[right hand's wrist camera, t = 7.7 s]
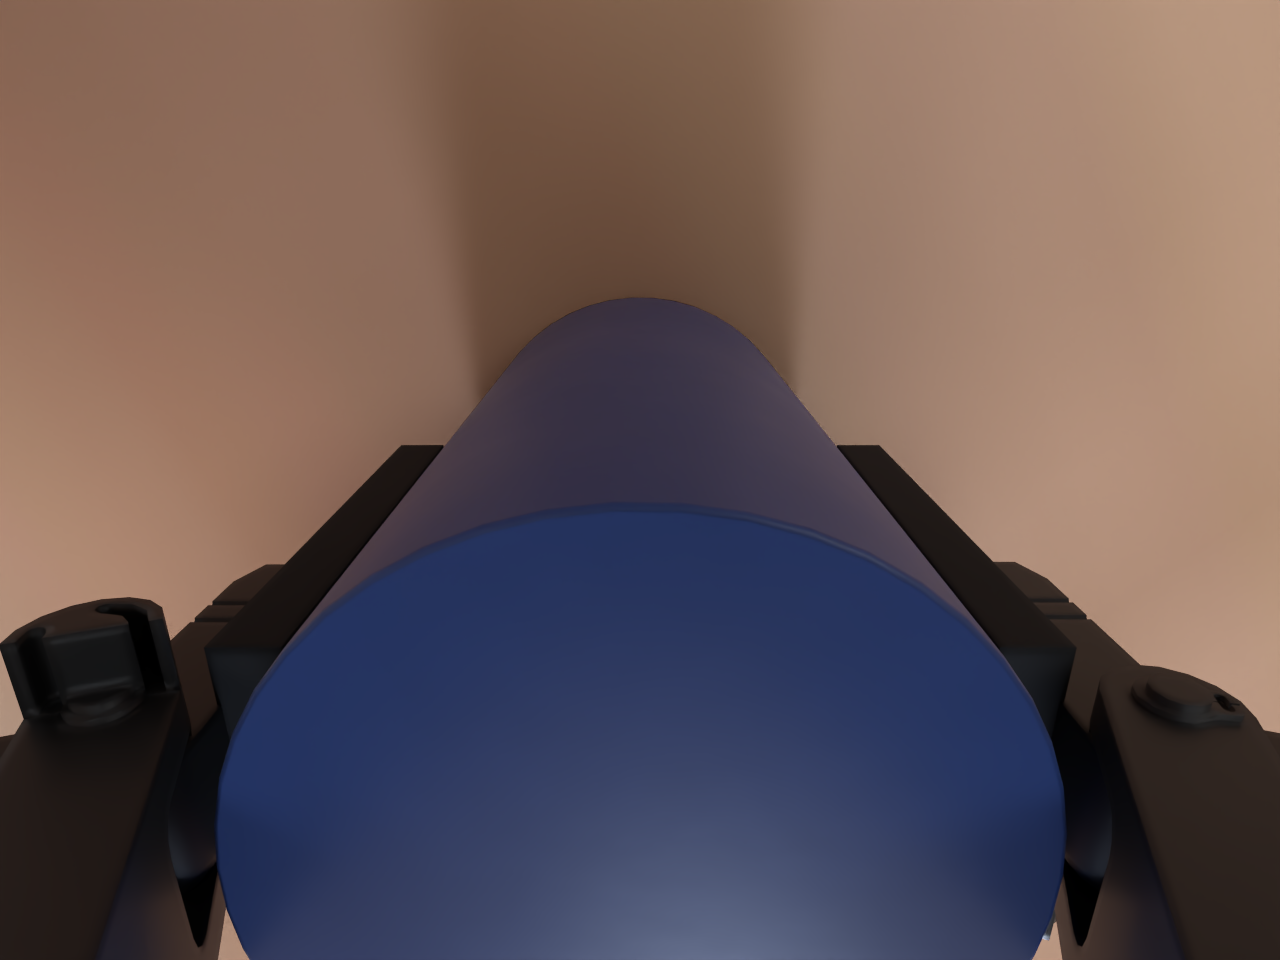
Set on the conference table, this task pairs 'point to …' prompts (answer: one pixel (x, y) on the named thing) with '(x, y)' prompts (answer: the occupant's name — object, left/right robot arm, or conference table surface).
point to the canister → (640, 697)
